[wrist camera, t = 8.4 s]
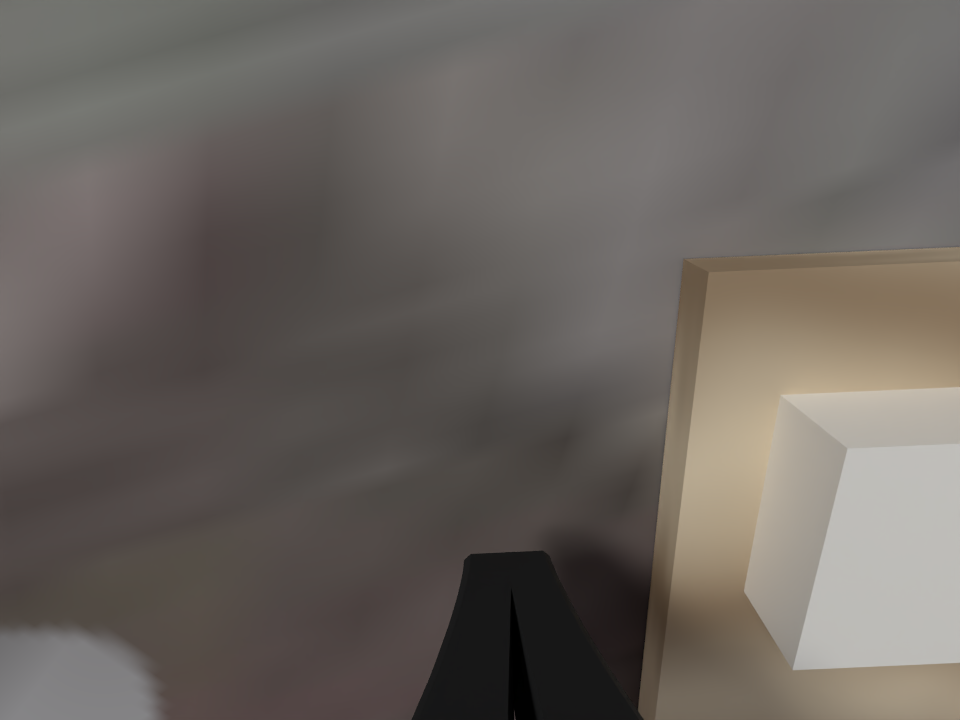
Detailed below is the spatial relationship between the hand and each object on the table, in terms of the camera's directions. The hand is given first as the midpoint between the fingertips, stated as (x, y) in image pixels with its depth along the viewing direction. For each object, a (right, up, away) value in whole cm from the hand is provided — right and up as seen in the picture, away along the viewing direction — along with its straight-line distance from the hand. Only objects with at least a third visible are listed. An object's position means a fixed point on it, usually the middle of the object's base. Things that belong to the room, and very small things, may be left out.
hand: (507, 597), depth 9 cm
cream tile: (+8, +1, +2) cm, 8 cm away
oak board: (+8, -2, +5) cm, 10 cm away
